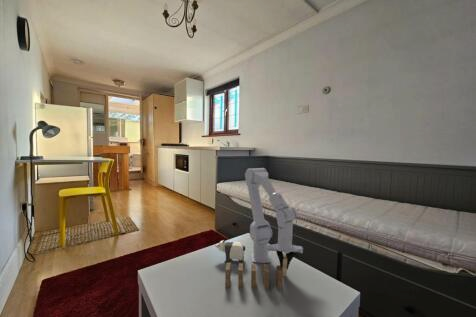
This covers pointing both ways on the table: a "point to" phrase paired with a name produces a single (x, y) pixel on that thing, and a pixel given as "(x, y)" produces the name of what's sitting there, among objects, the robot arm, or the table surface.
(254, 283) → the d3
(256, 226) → the robot arm
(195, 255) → the table surface
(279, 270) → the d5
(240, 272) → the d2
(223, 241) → the giant panda
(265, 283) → the d4
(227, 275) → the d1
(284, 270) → the maple tile
